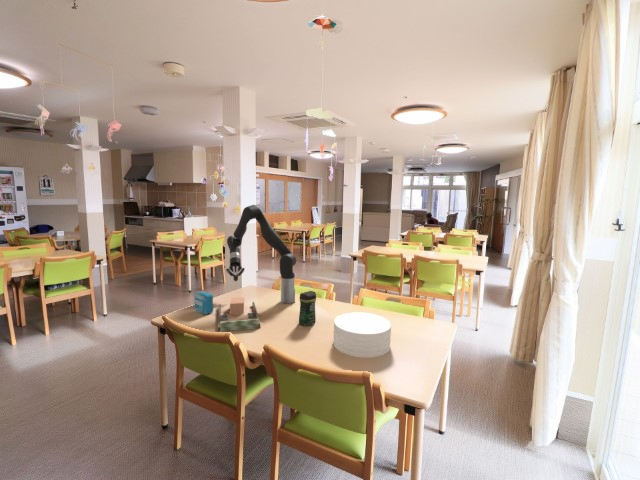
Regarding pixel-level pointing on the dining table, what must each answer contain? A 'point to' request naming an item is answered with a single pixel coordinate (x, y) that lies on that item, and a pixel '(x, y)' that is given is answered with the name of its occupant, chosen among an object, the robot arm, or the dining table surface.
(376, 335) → the plate stack
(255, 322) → the lane rails
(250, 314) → the pads
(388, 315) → the dining table surface
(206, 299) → the data package
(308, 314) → the coffee jar
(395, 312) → the dining table surface
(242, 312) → the terracotta block
